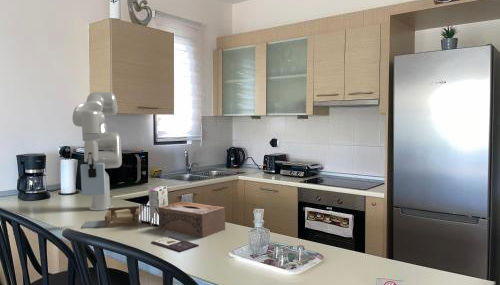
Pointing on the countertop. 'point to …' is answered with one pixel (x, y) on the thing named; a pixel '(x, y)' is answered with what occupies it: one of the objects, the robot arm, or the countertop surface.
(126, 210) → the offcut upper
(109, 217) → the rack
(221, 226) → the tissue box cover
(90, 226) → the mat
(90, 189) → the panel
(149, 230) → the countertop surface
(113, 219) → the offcut lower
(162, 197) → the candy bar box
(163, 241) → the chocolate bar
